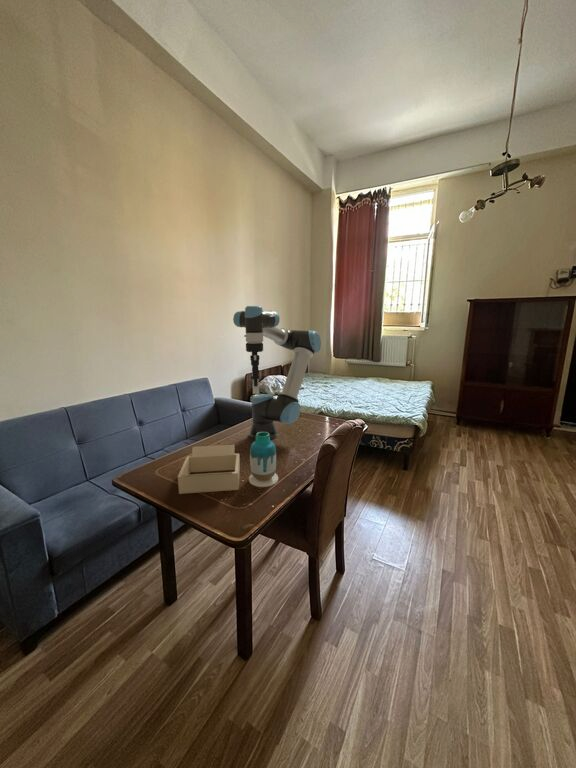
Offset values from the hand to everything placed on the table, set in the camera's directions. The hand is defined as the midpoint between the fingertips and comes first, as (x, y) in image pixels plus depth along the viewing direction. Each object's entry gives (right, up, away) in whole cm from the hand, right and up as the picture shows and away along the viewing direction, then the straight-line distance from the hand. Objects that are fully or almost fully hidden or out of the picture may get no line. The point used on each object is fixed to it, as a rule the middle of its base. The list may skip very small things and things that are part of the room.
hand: (255, 389), depth 141 cm
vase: (+5, -36, -13) cm, 39 cm away
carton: (-17, -37, -13) cm, 42 cm away
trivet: (+5, -36, -13) cm, 39 cm away
